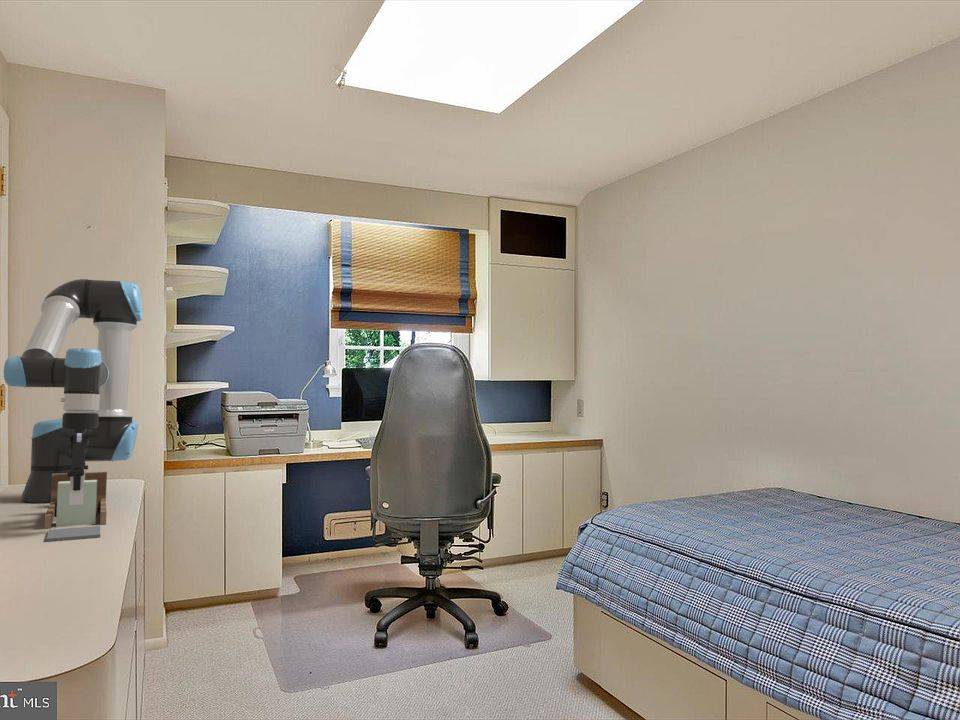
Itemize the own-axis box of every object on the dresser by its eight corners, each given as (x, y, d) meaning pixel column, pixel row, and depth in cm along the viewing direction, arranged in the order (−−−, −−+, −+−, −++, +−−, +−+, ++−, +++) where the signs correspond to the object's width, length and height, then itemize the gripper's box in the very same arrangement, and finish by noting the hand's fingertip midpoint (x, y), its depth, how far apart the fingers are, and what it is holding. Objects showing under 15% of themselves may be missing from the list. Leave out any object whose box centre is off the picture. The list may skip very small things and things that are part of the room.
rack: (50, 512, 173) (52, 473, 173) (105, 509, 179) (106, 471, 179) (44, 528, 154) (46, 485, 154) (106, 524, 160) (107, 482, 161)
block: (57, 523, 160) (58, 481, 161) (95, 520, 164) (97, 479, 165) (56, 526, 157) (57, 483, 157) (95, 523, 161) (97, 481, 161)
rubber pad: (49, 532, 150) (49, 529, 150) (100, 528, 155) (100, 525, 155) (46, 541, 142) (46, 538, 142) (100, 537, 147) (100, 534, 147)
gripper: (65, 410, 171) (61, 494, 169) (60, 413, 149) (55, 509, 148) (98, 410, 174) (95, 492, 173) (98, 413, 153) (94, 507, 152)
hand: (76, 500), depth 160 cm, fingers open, 13 cm apart
